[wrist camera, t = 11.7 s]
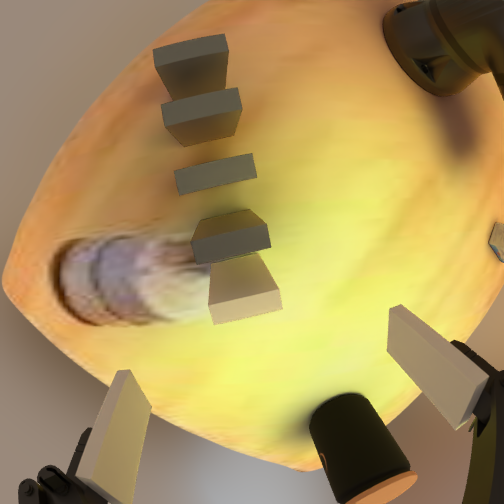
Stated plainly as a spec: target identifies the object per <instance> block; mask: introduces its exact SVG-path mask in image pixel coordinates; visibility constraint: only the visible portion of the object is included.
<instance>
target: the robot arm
mask: <svg viewBox="0 0 504 504" xmlns="http://www.w3.org/2000/svg"><path fill="white" fill-rule="evenodd" d="M383 30H384V35H385V38H386V41H387V43H388V46H389V48H390V50H391V52H392V53H393V55H394V57H395V58H396V60H397V61H398V63H399V64H400V65H401V67H402V68H403V69H404V71H405V72H406V73H407V74H408V75H409V76H410V77H411V78H412V79H413V80H414V81H415V82H416V83H417V84H418V85H420V86H421V87H422V88H424V89H425V90H427V91H428V92H430V93H432V94H434V95H437V96H443V97H445V96H450V95H454V94H457V93H460V92H461V91H463V90H464V89H465V88H466V87H467V86H468V85H469V84H471V83H472V82H473V81H474V80H475V79H476V78H478V77H479V76H480V75H481V74H485V73H489V72H492V74H493V76H494V78H495V80H496V83H497V85H498V88H499V90H500V93H501V95H502V98H503V100H504V0H419V1H414V2H408V3H403V4H400V5H397V6H395V7H394V8H393V9H391V10H390V11H389V12H388V13H387V14H386V15H385V17H384V20H383ZM387 352H388V353H389V354H390V355H391V356H392V357H393V359H394V360H395V361H396V362H397V363H398V364H399V365H400V366H401V368H402V369H403V370H404V371H405V372H406V373H407V374H408V375H409V377H410V378H411V379H412V380H413V381H414V382H415V383H416V385H417V386H418V387H419V388H420V389H421V390H422V392H423V393H424V394H425V395H426V396H427V397H428V399H429V400H430V401H431V402H432V403H433V404H434V406H435V407H436V408H437V409H438V410H439V411H440V413H441V414H442V415H443V416H444V417H445V419H446V420H447V421H448V422H449V423H450V425H451V426H452V427H453V428H454V429H455V430H457V429H458V428H459V427H461V426H462V425H463V424H465V423H466V422H468V420H469V418H470V416H471V414H472V413H473V414H474V415H475V416H476V417H475V419H474V421H473V422H472V424H471V426H470V428H469V432H470V431H471V430H472V428H473V427H474V431H473V432H474V433H473V444H472V453H471V460H470V467H469V473H468V479H467V484H466V489H465V493H464V497H463V502H462V504H504V370H502V371H500V372H499V371H497V370H496V369H495V368H494V367H492V366H491V365H490V364H489V363H488V362H486V361H485V360H484V359H483V358H481V357H480V356H479V355H477V354H476V353H475V352H474V351H473V350H471V349H470V348H469V347H468V346H467V345H465V344H464V343H462V342H459V341H456V340H453V341H451V342H448V341H447V340H446V339H445V338H443V337H442V336H441V335H440V334H438V333H437V332H436V331H435V330H433V329H432V328H431V327H430V326H428V325H427V324H426V323H425V322H423V321H422V320H421V319H420V318H418V317H417V316H416V315H414V314H413V313H412V312H410V311H409V310H408V309H407V308H405V307H404V306H403V305H401V304H400V305H398V306H395V307H393V308H390V309H389V325H388V342H387ZM151 408H152V406H151V405H150V403H149V402H148V400H147V398H146V397H145V395H144V393H143V392H142V390H141V388H140V386H139V385H138V383H137V381H136V379H135V378H134V376H133V374H132V372H131V370H120V371H117V373H116V375H115V377H114V379H113V382H112V384H111V386H110V388H109V391H108V393H107V395H106V397H105V400H104V402H103V404H102V407H101V409H100V411H99V414H98V417H97V419H96V421H95V424H94V427H93V428H87V429H86V430H85V431H84V433H83V434H82V435H81V437H80V440H79V442H78V445H77V447H76V450H75V451H76V452H74V455H73V457H72V460H71V463H70V466H69V468H68V471H67V473H66V475H65V474H64V473H63V472H62V471H61V470H60V469H59V468H57V467H56V466H53V465H48V466H45V467H44V468H42V469H41V470H40V471H39V473H38V476H37V482H38V483H39V484H40V485H39V484H38V483H37V482H36V481H34V480H32V479H25V480H23V481H22V482H21V483H20V485H19V490H18V499H19V504H108V502H109V503H111V504H132V502H133V495H134V490H135V483H136V478H137V473H138V467H139V462H140V457H141V453H142V448H143V443H144V438H145V434H146V429H147V424H148V420H149V416H150V412H151Z"/></svg>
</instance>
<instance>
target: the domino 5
mask: <svg viewBox="0 0 504 504" xmlns="http://www.w3.org/2000/svg"><path fill="white" fill-rule="evenodd" d="M208 306H209V310H210V313H211V316H212V320H213V323H214V325H216V324H221V323H226V322H230V321H235V320H239V319H244V318H248V317H252V316H257V315H261V314H265V313H269V312H273V311H277V310H281V309H283V308H282V302H281V297H280V291H279V288H278V286H277V285H276V283H275V281H274V279H273V277H272V276H271V274H270V272H269V270H268V269H267V267H266V265H265V263H264V262H263V260H262V258H261V256H260V255H259V253H256V254H252V255H248V256H243V257H239V258H234V259H230V260H226V261H221V262H217V263H212V264H211V274H210V287H209V302H208Z"/></svg>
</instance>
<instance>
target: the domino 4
mask: <svg viewBox="0 0 504 504" xmlns="http://www.w3.org/2000/svg"><path fill="white" fill-rule="evenodd" d="M191 245H192V249H193V253H194V257H195V260H196V264H197V265H198V264H203V263H207V262H211V261H215V260H220V259H224V258H228V257H233V256H237V255H241V254H245V253H250V252H254V251H258V250H263V249H267V248H271V243H270V238H269V233H268V228H267V224H266V223H265V222H264V221H263V220H262V219H260V218H259V217H258V216H257V215H256V214H255V213H253V212H252V211H251V210H250V209H248V210H244V211H239V212H235V213H230V214H226V215H222V216H217V217H213V218H209V219H205V220H201V221H200V223H199V225H198V227H197V229H196V231H195V233H194V235H193V237H192V239H191Z"/></svg>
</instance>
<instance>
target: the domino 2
mask: <svg viewBox="0 0 504 504" xmlns="http://www.w3.org/2000/svg"><path fill="white" fill-rule="evenodd" d="M161 108H162V114H163V120H164V125H165V128H166V129H167V130H168V131H169V132H170V133H171V134H172V135H173V136H174V137H175V138H176V139H177V140H178V141H179V142H180V143H181V144H182V145H183V146H184V147H186V146H190V145H194V144H198V143H202V142H206V141H211V140H215V139H220V138H225V137H229V136H234V133H235V130H236V127H237V124H238V121H239V118H240V115H241V112H242V105H241V101H240V96H239V92H238V88H231V89H226V90H220V91H215V92H210V93H206V94H201V95H196V96H192V97H188V98H184V99H180V100H176V101H172V102H169V103H165V104H162V105H161Z"/></svg>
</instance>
